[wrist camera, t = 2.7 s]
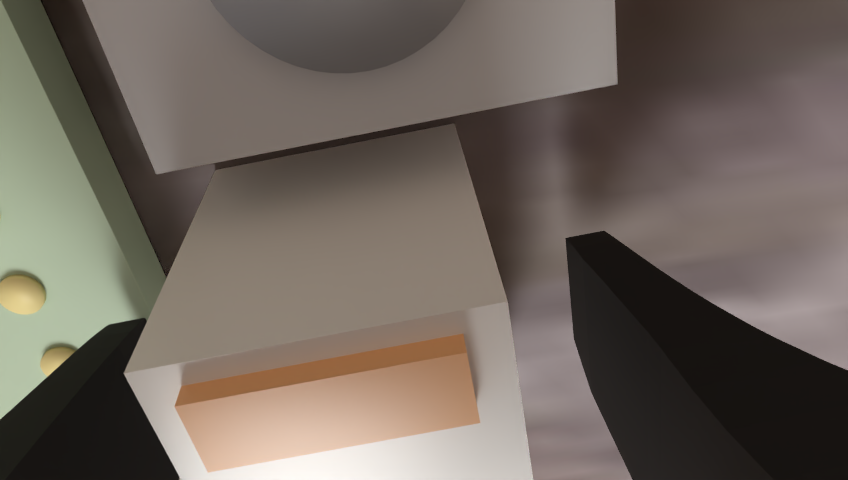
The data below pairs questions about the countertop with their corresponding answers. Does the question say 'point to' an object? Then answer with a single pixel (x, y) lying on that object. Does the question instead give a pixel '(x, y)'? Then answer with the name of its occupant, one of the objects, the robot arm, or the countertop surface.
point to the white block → (337, 324)
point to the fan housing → (337, 66)
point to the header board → (58, 213)
